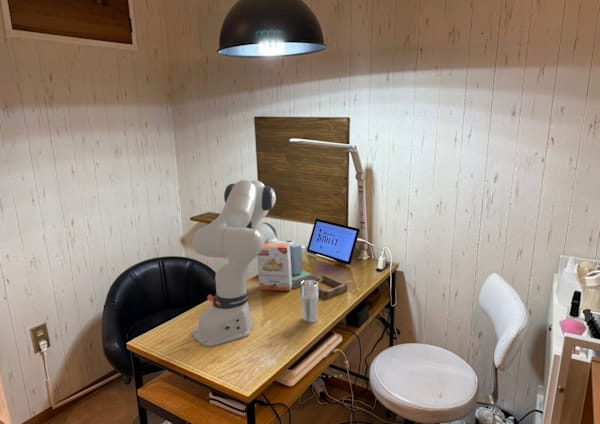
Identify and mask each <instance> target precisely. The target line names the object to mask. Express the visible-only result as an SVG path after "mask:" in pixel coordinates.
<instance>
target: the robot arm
mask: <svg viewBox="0 0 600 424" xmlns="http://www.w3.org/2000/svg"><path fill="white" fill-rule="evenodd" d="M275 192H276V191H275V189H274V188H272V187H271V186H268V185H265V184H264V183H263V182H262V181H260V180H251V181H250V180H246V179H241V180H239V181H237V182H236V183H230V184H228V185H227V186H226V187H225V190H224V193H223V200H224V206H223V208H222V211H221V212H220V213H219V215H218V216H217V217H216V218H215V219H214V220H212V221H211V222H210V223H208V224H207V225H204V226H203V227H201V228H198V229H197V230H196V231H195V233H194V234H193V236H192V237H193V238H192V246H193V249H194V251H195V253H196V254H197V255H201V256H204V257H209V258H225V259H228V263H227V264H224V265H223V266H221V267H219V268H218V269H217V271H216V273H215V277H214V279H215V289H216V292H215V295H214V296H213V294H208V295H207V297H206V298H207V300H208V302H212V304H211V305H210V306H209V307H208V308H207V309H206V310H205V311H204V312H203V314H201V315H200V317H199V319H198V326H197V327H196V328H193V330H192V337H193V338H194V339H195V340H196V341H197V342H198V343H199V344H200V345H203V346H204V347H208V348H209V347H211V348H212V347H215V346H217V345H221V344H225V343H228V342H232V341H235V340H238V339H242V338H246V337H248V336H249V335H250V332H251V330H252V328H253V327H254V321H253V319H252V316H251V313H250V312H251V311H250V308H249V291H248V288H247V272H248V271H247V270H248V267H249V265H250V264H251V262H253V260H254V259H255V258H257V256H258V255H259V254H260V252H261V250H262V248H263V243H278V244H293V243H295V241H294V240H278V239H277V238H278V236H277V235H278V233H277V231H276V229H275V227H274V226H273V225H272V224H270V223H268V222H263V221H262V220H263V218H265V217H266V216H267V215H268V213H269V211H271V210H272V209H273V208H274V205H275V204H276V201H277V196H276V193H275ZM261 221H262V222H261ZM296 243H297V244H300V243H298V242H296ZM300 245H302V255H304V254H306V246H305V245H303V244H300ZM290 257H291V260H293V259H292V256H290Z"/></svg>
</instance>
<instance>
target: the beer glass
mask: <svg viewBox="0 0 600 424" xmlns="http://www.w3.org/2000/svg"><path fill="white" fill-rule="evenodd" d="M318 287H319V282H318V281H315V280H304V281H302V282H301V287H300V293H299V294H300V301H301V306H302V311H303V313H302V318H301V319H302V321H303V322H305V323H316V322H317V321H318V320H319V316H318V304H319V297H320V296H319V290H318Z"/></svg>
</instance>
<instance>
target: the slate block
mask: <svg viewBox="0 0 600 424" xmlns="http://www.w3.org/2000/svg"><path fill="white" fill-rule="evenodd" d="M297 243H298V242H294V243H293V244H290V256H292V259H293V260H291V273H292V274H294V275H296V274H299V273H302V270H303V254H302V245H303V244H301V245H300V243H299V244H297Z"/></svg>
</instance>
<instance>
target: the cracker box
mask: <svg viewBox="0 0 600 424" xmlns="http://www.w3.org/2000/svg"><path fill="white" fill-rule="evenodd" d="M256 258H257V270H258V282H259V290H260V291H283V292H290V291H291V290H292V289H291V287H292V283H293V281H292V273H291V257H290V244H278V243H263V248H262V250H261V252H260V254H259V255H258V256H257V257H256Z"/></svg>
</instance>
